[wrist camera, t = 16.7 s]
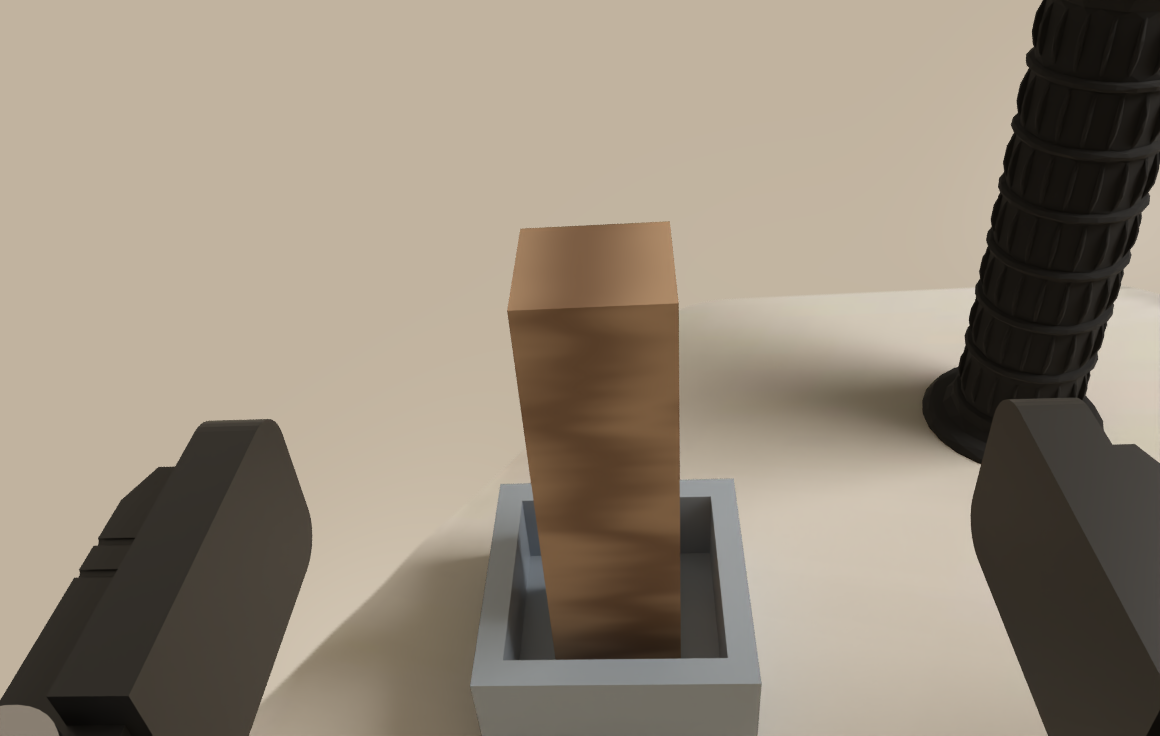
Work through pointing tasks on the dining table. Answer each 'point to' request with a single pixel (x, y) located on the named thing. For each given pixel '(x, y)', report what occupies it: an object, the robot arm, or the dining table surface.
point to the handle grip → (1059, 215)
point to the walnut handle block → (602, 432)
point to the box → (620, 686)
